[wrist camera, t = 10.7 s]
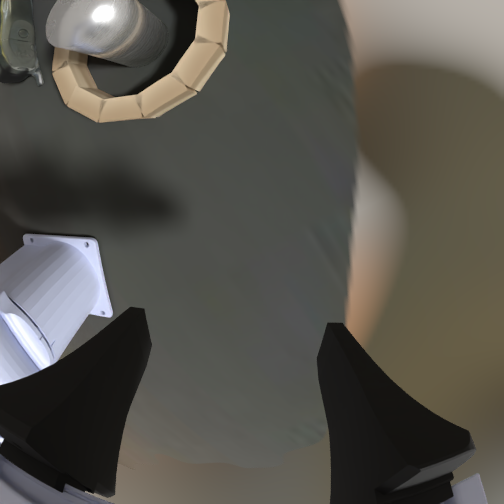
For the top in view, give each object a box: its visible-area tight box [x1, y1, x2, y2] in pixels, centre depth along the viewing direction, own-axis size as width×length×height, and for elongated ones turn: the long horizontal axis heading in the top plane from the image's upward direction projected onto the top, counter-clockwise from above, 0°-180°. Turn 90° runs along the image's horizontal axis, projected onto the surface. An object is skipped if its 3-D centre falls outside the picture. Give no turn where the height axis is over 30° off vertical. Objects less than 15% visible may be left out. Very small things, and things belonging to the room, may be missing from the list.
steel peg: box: [46, 0, 168, 67], centre depth 10 cm, size 4×4×8 cm
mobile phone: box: [0, 0, 44, 86], centre depth 10 cm, size 5×3×15 cm
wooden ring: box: [52, 0, 230, 123], centre depth 13 cm, size 12×12×2 cm
